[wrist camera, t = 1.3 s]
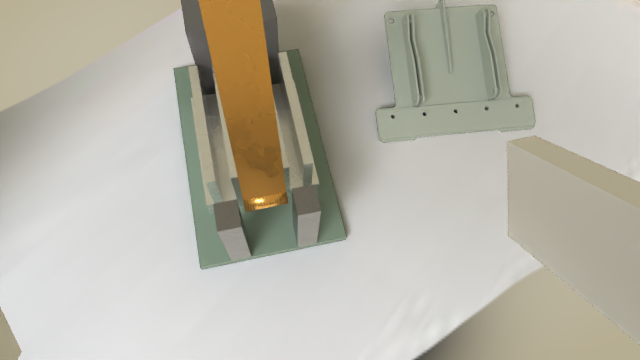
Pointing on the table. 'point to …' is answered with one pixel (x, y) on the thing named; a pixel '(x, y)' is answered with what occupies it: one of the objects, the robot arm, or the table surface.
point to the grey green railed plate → (265, 224)
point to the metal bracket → (449, 75)
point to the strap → (246, 98)
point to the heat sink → (222, 171)
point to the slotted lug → (201, 48)
